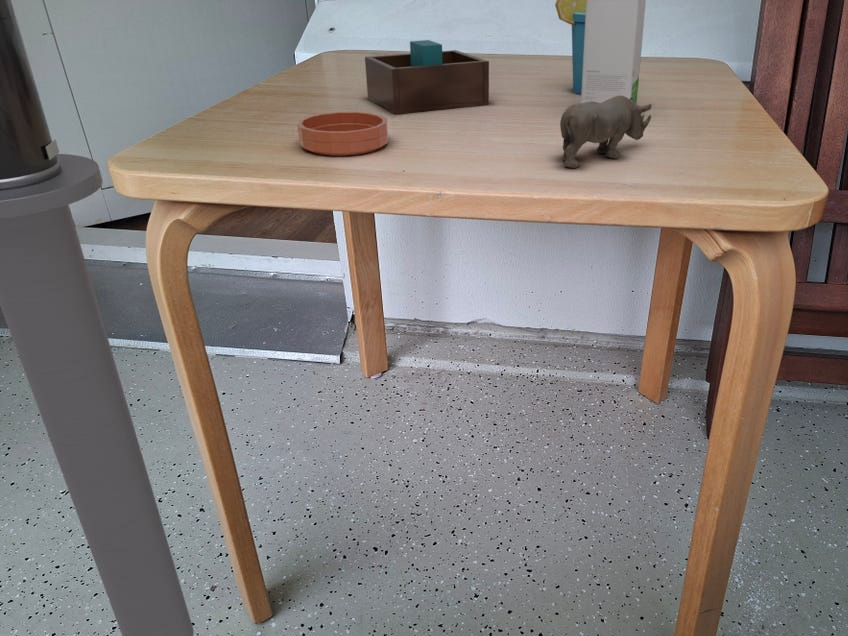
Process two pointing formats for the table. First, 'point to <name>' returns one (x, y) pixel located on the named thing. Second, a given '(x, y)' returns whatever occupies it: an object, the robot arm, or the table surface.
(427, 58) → the tea packet
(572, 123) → the rhino figurine
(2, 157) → the robot arm
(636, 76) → the cosmetic box
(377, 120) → the bowl
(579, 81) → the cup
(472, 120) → the table surface
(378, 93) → the box
